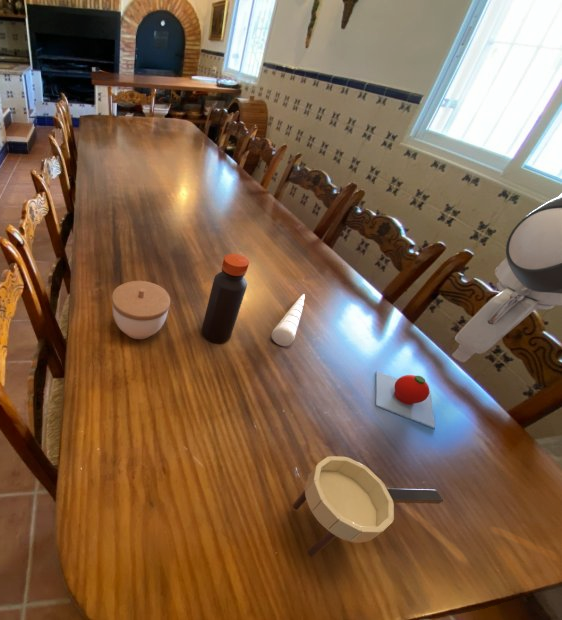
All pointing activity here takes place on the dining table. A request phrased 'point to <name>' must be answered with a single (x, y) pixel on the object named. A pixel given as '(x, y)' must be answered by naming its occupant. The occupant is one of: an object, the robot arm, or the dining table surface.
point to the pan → (353, 501)
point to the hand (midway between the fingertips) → (472, 347)
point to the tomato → (411, 389)
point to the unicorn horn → (288, 324)
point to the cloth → (390, 403)
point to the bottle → (225, 299)
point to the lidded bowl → (140, 308)
